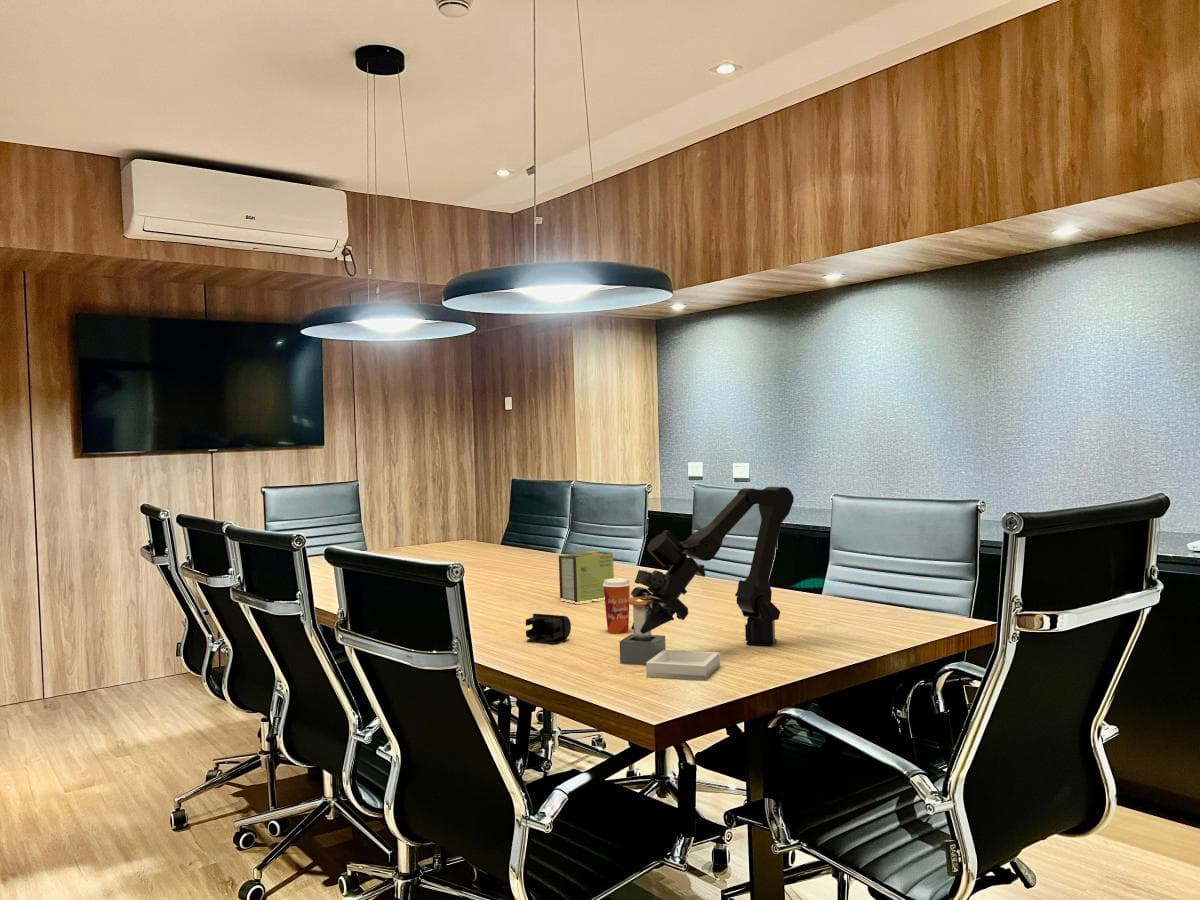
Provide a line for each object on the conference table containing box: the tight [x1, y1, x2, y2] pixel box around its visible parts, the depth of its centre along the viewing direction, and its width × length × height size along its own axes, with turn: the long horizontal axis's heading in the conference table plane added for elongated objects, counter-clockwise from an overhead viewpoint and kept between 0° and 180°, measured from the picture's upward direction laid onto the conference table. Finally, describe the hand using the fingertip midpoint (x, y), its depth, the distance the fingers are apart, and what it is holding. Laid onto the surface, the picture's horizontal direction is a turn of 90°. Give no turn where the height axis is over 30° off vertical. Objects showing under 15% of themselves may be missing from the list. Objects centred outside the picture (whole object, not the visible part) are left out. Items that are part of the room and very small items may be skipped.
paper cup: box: [603, 577, 632, 635], centre depth 239 cm, size 8×8×14 cm
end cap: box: [525, 613, 572, 646], centre depth 230 cm, size 10×7×7 cm
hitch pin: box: [629, 596, 653, 641], centre depth 205 cm, size 6×6×14 cm
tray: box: [645, 649, 721, 681], centre depth 194 cm, size 13×13×3 cm
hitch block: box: [618, 633, 667, 666], centre depth 205 cm, size 8×8×5 cm
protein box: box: [558, 550, 615, 602], centre depth 293 cm, size 10×15×16 cm
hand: (637, 631), depth 205 cm, fingers closed on hitch pin, 4 cm apart
